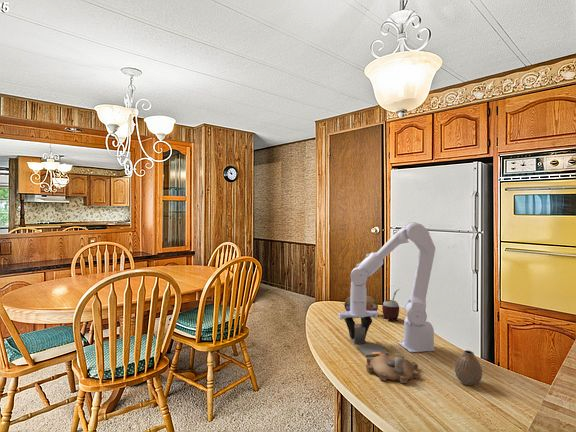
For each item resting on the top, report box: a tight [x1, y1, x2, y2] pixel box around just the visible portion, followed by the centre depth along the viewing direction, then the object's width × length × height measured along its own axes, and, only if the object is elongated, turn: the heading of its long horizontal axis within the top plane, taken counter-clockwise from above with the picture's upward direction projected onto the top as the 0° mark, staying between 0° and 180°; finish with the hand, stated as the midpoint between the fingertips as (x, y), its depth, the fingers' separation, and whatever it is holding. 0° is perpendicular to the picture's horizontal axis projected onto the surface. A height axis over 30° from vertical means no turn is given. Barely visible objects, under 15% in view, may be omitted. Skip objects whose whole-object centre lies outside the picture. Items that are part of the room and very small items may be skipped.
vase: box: [454, 349, 483, 387], centre depth 96 cm, size 7×7×9 cm
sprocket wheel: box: [366, 354, 421, 384], centre depth 102 cm, size 16×16×5 cm
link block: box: [349, 322, 366, 345], centre depth 123 cm, size 4×4×6 cm
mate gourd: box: [382, 288, 400, 323], centre depth 147 cm, size 8×8×15 cm
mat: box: [356, 343, 390, 358], centre depth 116 cm, size 8×8×1 cm
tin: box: [343, 295, 379, 312], centre depth 155 cm, size 15×3×8 cm, turn 81°
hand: (357, 337), depth 123 cm, fingers closed on link block, 4 cm apart
